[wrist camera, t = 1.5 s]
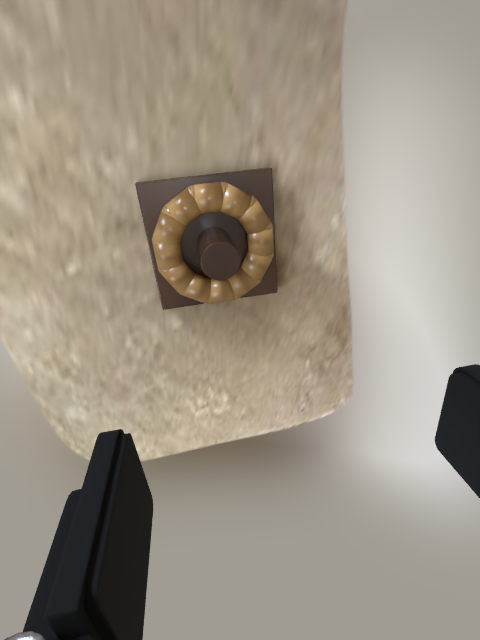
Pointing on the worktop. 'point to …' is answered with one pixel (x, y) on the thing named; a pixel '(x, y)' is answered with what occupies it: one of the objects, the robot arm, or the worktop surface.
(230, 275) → the peg stand
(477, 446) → the robot arm
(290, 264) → the worktop surface
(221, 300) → the ring
